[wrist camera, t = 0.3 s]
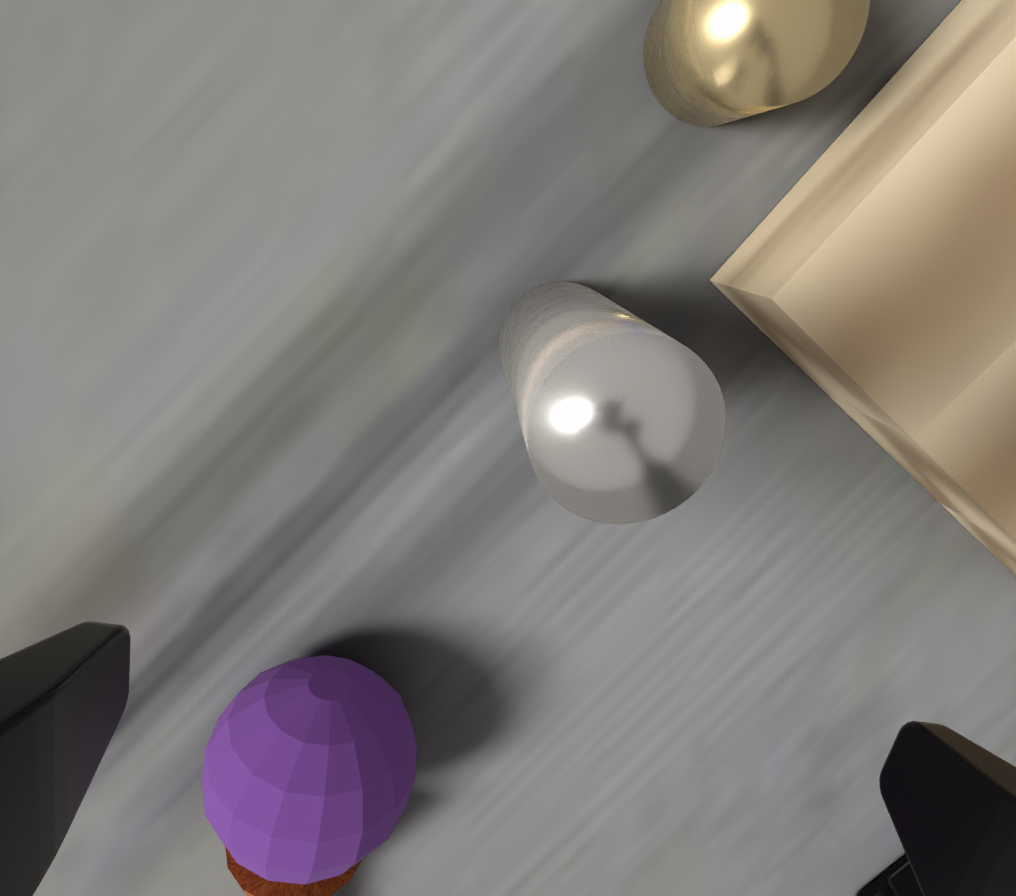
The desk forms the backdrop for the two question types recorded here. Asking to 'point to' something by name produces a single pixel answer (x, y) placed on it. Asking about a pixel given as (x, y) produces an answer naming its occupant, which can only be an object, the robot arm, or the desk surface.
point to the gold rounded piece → (747, 54)
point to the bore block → (912, 270)
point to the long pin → (608, 405)
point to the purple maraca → (308, 775)
